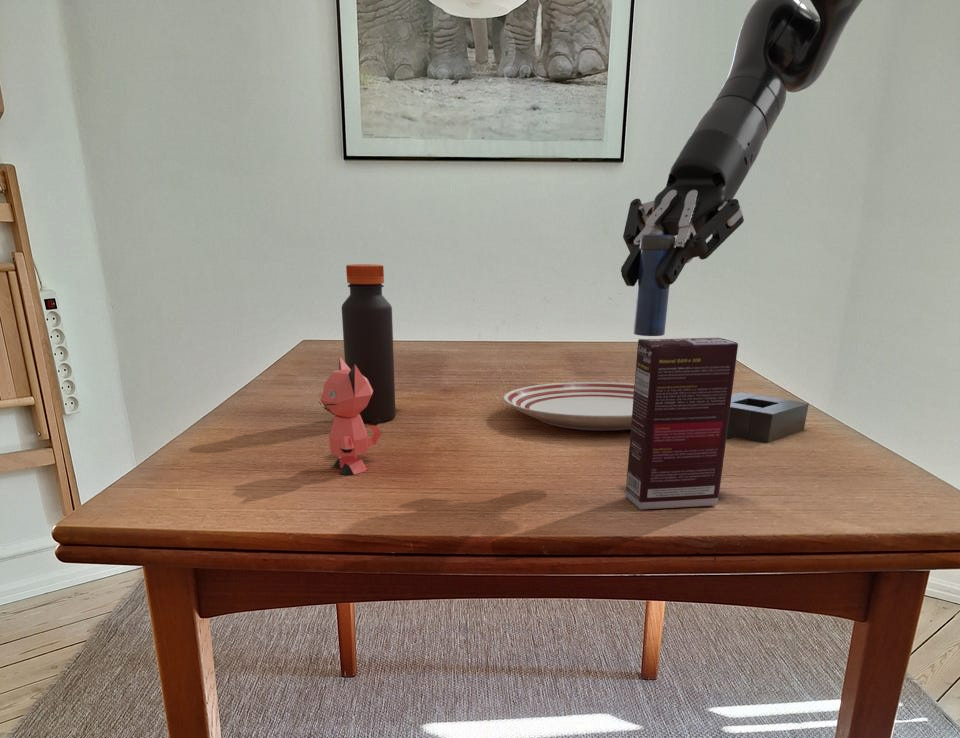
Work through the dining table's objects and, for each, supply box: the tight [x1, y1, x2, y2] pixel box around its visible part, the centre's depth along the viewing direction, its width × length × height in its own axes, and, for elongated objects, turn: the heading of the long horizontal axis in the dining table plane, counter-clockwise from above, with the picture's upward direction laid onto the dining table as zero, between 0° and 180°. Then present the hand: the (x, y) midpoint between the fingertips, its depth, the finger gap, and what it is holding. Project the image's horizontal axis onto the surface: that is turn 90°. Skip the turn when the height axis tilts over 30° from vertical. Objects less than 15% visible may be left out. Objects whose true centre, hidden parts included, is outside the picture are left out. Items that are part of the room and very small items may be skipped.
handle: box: [633, 234, 677, 337], centre depth 91 cm, size 4×4×10 cm
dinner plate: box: [503, 381, 635, 432], centre depth 121 cm, size 28×27×3 cm
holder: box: [726, 391, 810, 444], centre depth 111 cm, size 10×10×4 cm
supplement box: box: [625, 337, 739, 511], centre depth 83 cm, size 9×5×16 cm, turn 100°
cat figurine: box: [318, 355, 383, 476], centre depth 94 cm, size 7×7×12 cm
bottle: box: [341, 263, 396, 424], centre depth 115 cm, size 7×7×20 cm
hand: (643, 281), depth 90 cm, fingers closed on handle, 3 cm apart
